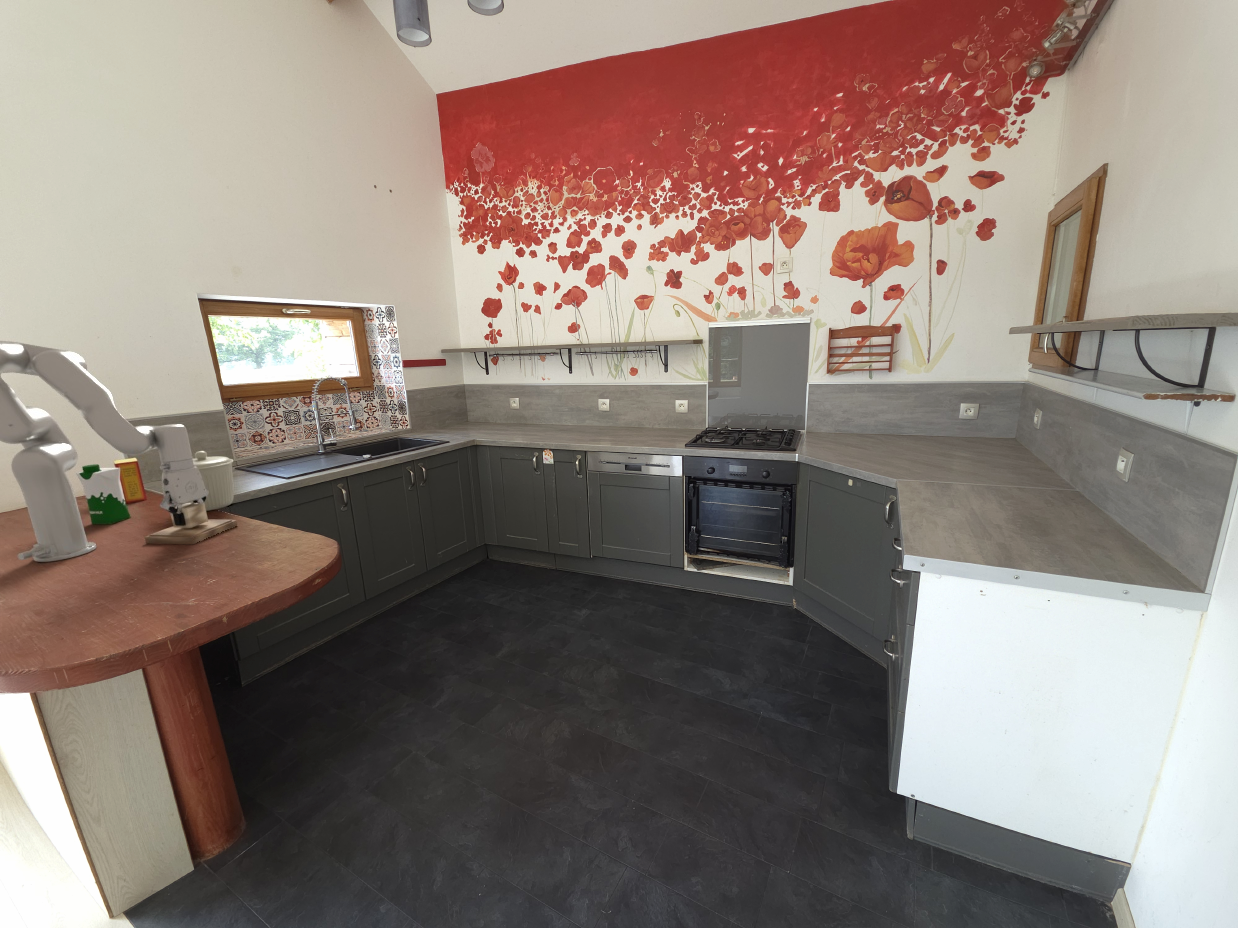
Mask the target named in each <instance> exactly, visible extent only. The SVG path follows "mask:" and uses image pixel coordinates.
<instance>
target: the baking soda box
mask: <svg viewBox="0 0 1238 928" xmlns="http://www.w3.org/2000/svg"><path fill="white" fill-rule="evenodd" d="M138 461H139V460H138V459H137V458H136V457H132V458H125V459H124V458H123V459H117V460H116V459H115V460H113V461H112V462H113V466H114V468H120V482H121V486H122V490H123V494H124V498H125V502H126V504H130V503H136V502H142V501H147V500H148V497H147V494H146V489H145V486H144V482H143V478H142V474H141V469H140V465H139V462H138Z"/></svg>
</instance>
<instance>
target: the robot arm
mask: <svg viewBox="0 0 1238 928" xmlns="http://www.w3.org/2000/svg"><path fill="white" fill-rule="evenodd" d="M9 373H13V374H14V373H15V374H23V375H27V376H28V375H31V376H34V377H35V376H37V377H39V378H40V379H41V380H42V381H44V382H45V383H46V384H47V385H48V386H50V387H51V388H52V389H53V390H54V391H55V392H57V393H58V394H59V395H60V396H62V397H63V398H64V399H65V400H66V401H67V402H68V403H69V404H71V405H72V406H73V407H74V408H76V409H77V411H79V413H80V415H81V416H82V418H83V419H84V420H85V421H86V423H87V424H88V425H89V426H90V428H91V429H92V430H93V431H94V432H95V433H96V434H97V435H98V436H99V437H100V438H102V439H103V440H104V441H105V442H106V443H108V444H109V446H111V447H112V448H113V449H115V450H117V451H118V452H120V453H122V454H124V455H127V456H139V455H142V454H145V453H146V452H148V451H151V450H154V449H157V451H158V454H159V455H158V456H159V459H160V465H159V469H160V471H162V472H161V488H162V494H163V499H162V500H161V502H160V504H159V507H160V508H161V509H164V510H165V511H167V512H169V514H170V513H171V514H173V518H174V522H175V525H176V526H185V525H186V523H185V518H184V514H183V513H181V511H182V504H185V503H188V502H191V501H192V503H204V502H205V500H206V497H207V495H208V494H209V491H208V490H206V489H205V486H204V482H203V479H202V476H201V474H200V472H199V470H198V468H197V467H195V466H194V462H193V459H194V458H193V457H194V456H193V453H192V448H191V445H190V444H191V443H190V439H189V434H188V430H187V428H186V426H185V425H183V424H179V423H177V424H176V423H173V424H164V425H137V426H134V425H133V424H132V423H131V422H129V421H128V420H127V419H126V418H125V417H124V416H123V415H122V414H121V413H120V412H119V410H118V409H117V407H116V405H115V403H114V397H113V395H112V393H111V391H110V390H109V389H107V387H106V386H105V385H103V383H101V382H99V381H98V380H97V378H95V377H94V376H93V375H92V374H91V373H89V372H88V364H87V362H86V361H85V360H84V358H83V357H82V356H80V355H79V354H78V353H76V352H73V351H70V350H66V349H58V348H52V347H46V346H42V345H41V346H39V345H35V344H28V343H23V342H18V341H9V340H0V442H2V443H5V444H8V445H9V444H10V445H19V444H21V446H23V449H22V450H20V451H18V452H17V453H16V454H15V455H14V457H13V458H12V460H11V464H10V465H11V471H12V474H13V476H14V478H15V479H16V482H17V483H18V485H19V488H20V491H21V492H22V495H23V498H24V501H25V502H24V503H25V505H26V507H27V511H28V515H29V518H30V520H31V521H30V522H31V525H32V528H33V531H34V535H35V538H36V539H35V540H36V542H37V543H35V544H33V547H32V548H31V549H30V550H26V551H24V552H21V553H20V552H19V553H18V554H17V558H18V560H20V561H24V560H27V559H30V558H33V561H35V562H40V563H47V562H56V561H61V560H66V559H70V558H75V557H79V556H81V555H85V554H87V553H90V552H92V551H94V550H95V549H96V548H97V544H96V542H93V541H92V542H91V541H88V539H87V536H86V535H87V534H86V532H85V528H84V524H83V520H82V517H81V513H80V509H79V506H78V501H77V498H76V496H75V492H74V489H73V486H72V483H71V481H70V480H69V478H68V475H67V474H66V472H69V471H70V470H72V469H73V468H74V467H75V466H76V464H77V463H78V459H79V456H78V455H79V454H78V453H77V449H76V448H75V446H74V445H73V443H72V442H71V441H70V440H69V438H68V436H67V435H66V434H65V432H64V430H62V428H61V426H60V425H59V424H58V422H57V420H56V419H55V418H54V417H53V416H52V415H51V414H50V413H48V412H47V411H46V410H44V409H42V408H39V407H36V406H28V405H27V406H26V405H25V404H24V403H23V402H22V401H21V399H20V398H19V396H18V395H17V393H16V392H15V390H14V389H13V388H12V387H11V386H10V385H9V384H8V383H7V382H6V381H5V380H3V378H2V374H9ZM204 504H205V503H204ZM176 506H177V509H176V508H175V507H176ZM171 514H170V515H171Z"/></svg>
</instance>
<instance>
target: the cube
mask: <svg viewBox="0 0 1238 928" xmlns="http://www.w3.org/2000/svg"><path fill="white" fill-rule="evenodd" d="M175 508H176V509H177V505H176V507H175ZM181 513H183V514H184V518H185V523H186V525H185V526H176V525H175V522H174V518H173V514H171V513H170V512H169V514H170V517H171V522H172V525H173V527H181V528H191V527H194V526H197V525H199V524H202V523H205V522H207V521H208V519H209V518H208V515H207V511H206V508H205V504H204V503H185V504H182V511H181Z"/></svg>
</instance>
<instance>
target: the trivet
mask: <svg viewBox="0 0 1238 928" xmlns="http://www.w3.org/2000/svg"><path fill="white" fill-rule="evenodd" d="M237 525H238V520H237V519H209V518H208V521H207V522H205V523H202V524H199V525H197V526H194V527H191V528H181V527H173V526H170V527H168V528H164V529H162V530H159V531H155V532H153V533H151V534H149V535H146V536H144V540H145V544H159V545H160V544H164V545H167V544H169V545H170V544H171V545H195V544H197V542H198V543H200V542H202V541H205V540H207V539H209V538H208V537H210V538H212V537H214V536H213V535H215V536H216V534H217V533H219V534H222V533H223V532H222V531H224V532H226V531H225V530H227V529H229V530H231V529H230V528H232V527H234V528H236V527H235V526H237ZM237 527H238V526H237ZM232 529H233V528H232ZM227 531H228V530H227ZM221 532H222V533H221ZM217 535H218V534H217ZM211 536H212V537H211ZM206 538H207V539H206ZM204 539H205V540H204ZM199 541H200V542H199Z"/></svg>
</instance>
